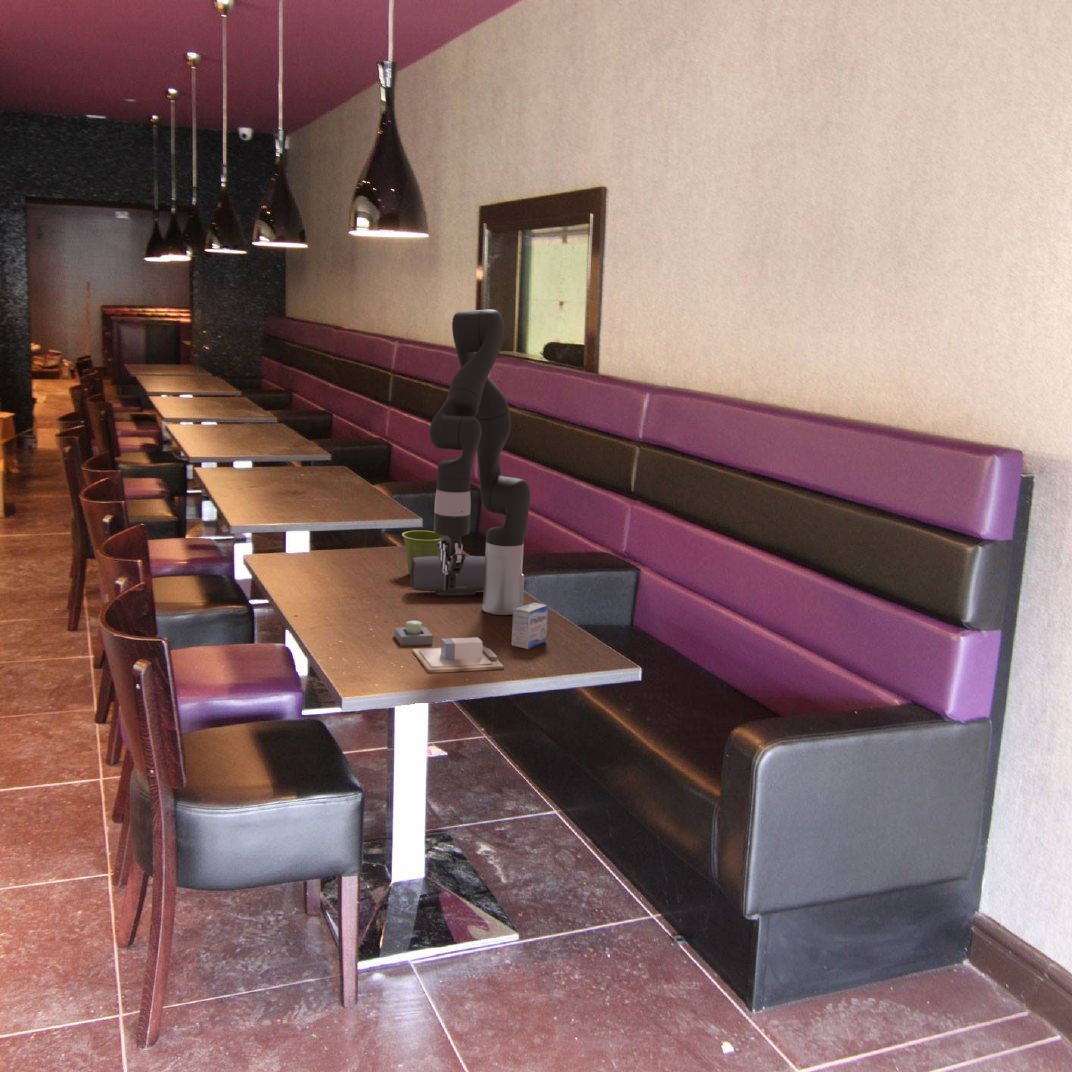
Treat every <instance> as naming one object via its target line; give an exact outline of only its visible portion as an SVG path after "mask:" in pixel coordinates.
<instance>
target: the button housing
mask: <svg viewBox="0 0 1072 1072" xmlns="http://www.w3.org/2000/svg"><path fill="white" fill-rule="evenodd" d="M393 635H394V636H393V637H394V638H395V639H396V641H397V642H398V643H399V645H400V646H402V647H403V646H426V645H428V646H429V645H433V644H434V643H433V640H434V636H433V634H432V632H430V630H429V629H428V628H427V627H426V626H422V629H421V634H409V635H407V634H406V626H405V627H404V626H403V627H394V633H393Z"/></svg>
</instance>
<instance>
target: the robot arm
mask: <svg viewBox="0 0 1072 1072" xmlns="http://www.w3.org/2000/svg"><path fill="white" fill-rule="evenodd" d="M504 323H505V322H504V319H503V315H502V314H501V313H500V312H499V311H498V310H496V309H488V308H487V309H475V310H474V309H473V310H461V311H457V312H456V313H455V314H454V315H453V318H452V322H451V329H452V330H451V331H452V337H453V342H454V346H455V351H456V355H457V358H458V363H459V366H460V368H459V369H458V370H457V371H456V373H455V374H454V376H453V378H452V379H451V382H450V386H449V389H448V393H447V397H446V400H445V401H444V403H443V405H442V406H441V407H440V409H439V410H438V411H437V413H436V414H435V416H434V417H433V419H432V421H431V423H430V427H429V433H428V434H429V440H430V442H431V443H432V446H434V447H436V448H437V449H442V450H455V451H461V455H460V457H458V458H454V459H447V460H442V461H441V462H439V463H438V465H437V470H436V491H435V498H434V512H433V513H434V515H433V516H434V517H433V521H434V522H433V532H435V533H436V534H439V535H442V536H441V541H440V542H438V543H437V547H438V553H439V560H440V566H441V568H443V570H442V571H443V573H445V574H444V587H443V589H444V590H445V591H446V592H454V591H455V586H456V575H457V574H460V571H461V569H462V566H463V563H464V560H465V556H466V553H462V552H463V546H464V545H463V543H462V537H463V536H467V535H469V534H470V530H471V529H470V528H471V512H472V511H471V509H472V508H471V507H472V506H471V505H472V501H471V485H472V484H471V480H472V468H473V464H474V460H475V459H474V458H475V455H476V457H477V464H478V477H479V478H478V479H479V489H480V499H481V503H482V505H483V507H484V509H485V510H486V511H488V512H489V513H493V514H498V515H504V516H505V519H504V522H503V524H502V525H500V526H495V527H491V528H488V529H487V531H486V534H485V553H484V554H485V555H484V556H485V569H484V588H483V591H482V592H483V593H482V611H483V612H485V613H488V614H491V615H497V616H510V615H512V616H513V609H516V608H518V607H521V606H524V591H525V590H524V589H525V574H523V563H524V562H523V561H524V544H525V537H526V534H527V528H528V520H529V513H530V512H529V511H530V501H531V489H530V486H529V483H528V482H527V481H526V480H525V479H521V478H519V477H513V476H512V477H510V476H504V475H503V474H502V472H501V467H500V456H501V453H502V451H503V449H504V447H505V445H506V442H507V441H508V440H509V439H508V438H509V436H510V433H511V430H512V421H511V415H510V414H511V413H510V409H509V403H508V400H507V398H506V396H505V395H504V393H503V392H502V391H501V390H500V388H499V387H498V386H497V384H496V383H494V381H493V380H492V379H491V378H490V377H489V375H490V373H491V371H492V369H493V367H494V365H495V363H496V360H497V357H498V356H499V354H500V351H501V350H502V347H503V344H504V339H505V324H504Z"/></svg>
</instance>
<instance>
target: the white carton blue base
mask: <svg viewBox="0 0 1072 1072" xmlns="http://www.w3.org/2000/svg"><path fill="white" fill-rule="evenodd" d="M440 643H441V644H440V648H441V656H442V657H443V658H444V659H445V660H454V659H475V658H482V646H484V645H483V643H484V642H483V641H482V640H481V638H479V637H477V636H476V637H453V638H441V642H440Z"/></svg>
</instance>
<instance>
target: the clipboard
mask: <svg viewBox="0 0 1072 1072" xmlns="http://www.w3.org/2000/svg"><path fill="white" fill-rule="evenodd" d="M412 653H413V654H414V655H415V657H416V658H417V659H418V661H419V662H420V663H421V665H422V666H423V668H424V669H425V670H426V672H427V673H428V674H431V673H432V674H435V673H451V672H454V673H455V672H469V671H470V672H474V671H490V670H491V671H492V670H493V671H494V670H504V668H505V667H504V664H502V663H501V662H500V661H499V659H498V656H497V655H496V654H495V653H494V651H492V650H491V648H489V647H486V645H483V646H482V658H475V659H454V660H445V659H444V658H443V657H442V656H441V647H431V648H429V647H428V648H427V647H426V648H412Z"/></svg>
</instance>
